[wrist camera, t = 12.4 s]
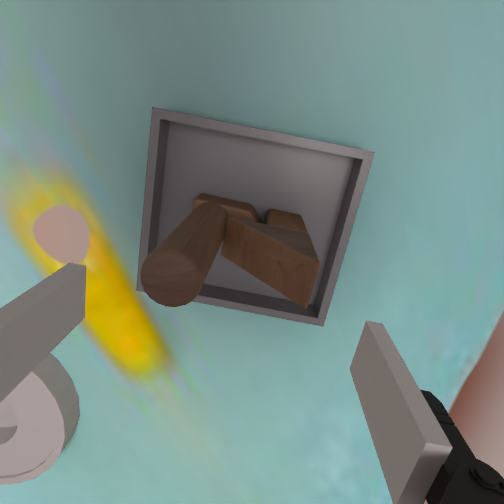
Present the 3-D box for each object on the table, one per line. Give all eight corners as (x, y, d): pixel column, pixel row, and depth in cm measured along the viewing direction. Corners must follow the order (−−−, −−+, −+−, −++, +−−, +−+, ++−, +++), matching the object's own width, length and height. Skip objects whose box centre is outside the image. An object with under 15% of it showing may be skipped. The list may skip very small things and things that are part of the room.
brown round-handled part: (293, 247, 37) (314, 342, 20) (195, 225, 37) (131, 302, 20) (302, 214, 36) (332, 285, 19) (200, 191, 36) (138, 242, 19)
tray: (165, 110, 34) (152, 107, 31) (363, 150, 35) (374, 152, 31) (148, 275, 40) (136, 290, 36) (318, 308, 40) (323, 326, 37)
